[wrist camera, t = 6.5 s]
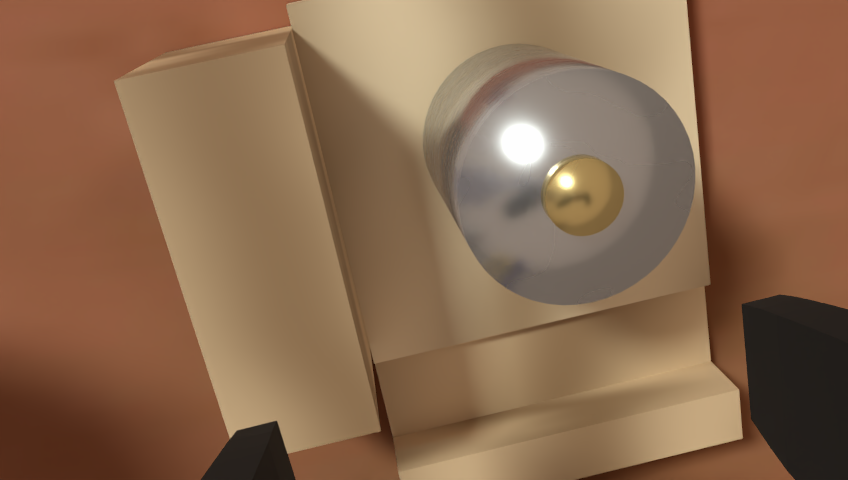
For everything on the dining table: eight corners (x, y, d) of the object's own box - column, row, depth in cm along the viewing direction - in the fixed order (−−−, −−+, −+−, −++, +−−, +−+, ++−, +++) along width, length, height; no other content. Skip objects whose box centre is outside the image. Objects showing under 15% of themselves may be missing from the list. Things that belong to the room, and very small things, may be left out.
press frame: (335, 618, 24) (338, 773, 20) (158, 30, 19) (104, 52, 14) (717, 522, 25) (809, 651, 20) (662, -76, 19) (773, -90, 15)
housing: (454, 250, 20) (502, 345, 15) (398, 79, 19) (429, 121, 14) (621, 191, 20) (725, 266, 15) (579, 17, 19) (677, 35, 14)
